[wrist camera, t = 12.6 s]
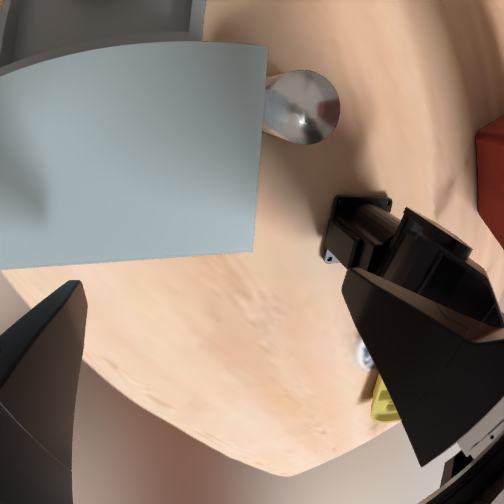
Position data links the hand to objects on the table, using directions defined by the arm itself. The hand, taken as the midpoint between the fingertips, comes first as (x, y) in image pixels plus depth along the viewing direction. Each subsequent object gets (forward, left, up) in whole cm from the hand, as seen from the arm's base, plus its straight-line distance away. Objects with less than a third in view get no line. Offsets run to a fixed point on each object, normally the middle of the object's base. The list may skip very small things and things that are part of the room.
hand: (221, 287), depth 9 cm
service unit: (+5, -4, -13) cm, 14 cm away
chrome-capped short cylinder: (-6, -6, -13) cm, 15 cm away
